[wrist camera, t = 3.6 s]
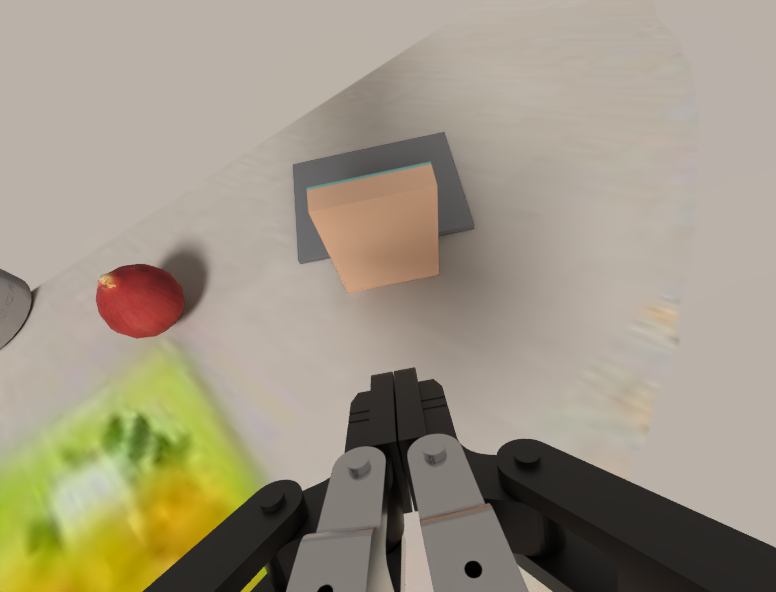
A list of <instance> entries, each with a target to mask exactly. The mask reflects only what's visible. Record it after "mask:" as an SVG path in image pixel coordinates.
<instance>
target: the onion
mask: <svg viewBox="0 0 776 592" xmlns="http://www.w3.org/2000/svg"><path fill="white" fill-rule="evenodd" d="M97 287H98V288H97V295H96V302H97V306H98V311H99V313H100V315H101V317H102V318H103V319H104V320H105V322H106V323H107V324H108V325H109V327H110V328H111V329H113V330H114V331H116V332H117V333H120V334H124V335H127V336H131V337H134V338H144V337H153V336H157V335H159V334H161V333H163V332H165V331H166V330H167V329H169V328H170V327H171V326H172V325H173V324H175V323H176V321H177V320H178V318H179V317H180V316H181V314H182V312H183V308H184V304H185V301H184V295H183V291H182V287H181V286H180V285H179V284H178V283H177V281H176V280H175V279H174V278H173V277H172V276H171V275H170V273H168V272H166V271H164V270H162V269H159V268H156V267H153V266H150V265H146V264H135V265H127V266H122V267H119V268H117V269H115V270H113V271H111V272H109V273H107V274H104V275H101V277H100V278H99V280H98V286H97Z"/></svg>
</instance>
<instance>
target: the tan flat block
mask: <svg viewBox="0 0 776 592" xmlns="http://www.w3.org/2000/svg"><path fill="white" fill-rule="evenodd" d="M307 201H308V213H309V215H310V217H311V219H312V221H313V223H314V225H315V227H316V229H317V231H318V233H319V235H320V237H321V239H322V241H323V243H324V245H325V247H326V249H327V252H328V254H329V256H330V258H331V260H332V262H333V264H334V266H335V268H336V270H337V272H338V274H339V276H340V278H341V280H342V282H343V284H344V286H345V288H346V290H347V292H348V293H350V292H355V291H360V290H365V289H370V288H375V287H380V286H385V285H390V284H395V283H400V282H405V281H410V280H415V279H420V278H425V277H430V276H435V275H439V248H438V192H437V182H436V179H435V175H434V172H433V168H432V165H431V162H426V163H421V164H417V165H412V166H407V167H402V168H398V169H393V170H388V171H384V172H379V173H374V174H370V175H365V176H360V177H355V178H351V179H346V180H341V181H337V182H332V183H327V184H322V185H318V186H313V187H308V188H307Z"/></svg>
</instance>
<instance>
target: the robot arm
mask: <svg viewBox="0 0 776 592" xmlns="http://www.w3.org/2000/svg"><path fill="white" fill-rule="evenodd" d="M30 305H31V291H30V288H29V286H28V285H27V284H26V282H25V281H23V280H22V279H20V278H18V277H16V276H14V275H12V274H10V273H8V272H6V271H4V270H2V269H0V348H2V347H3V346H4V345H5V344H6V343H7V342H8V341H9V340H10V339H11V338H12V337H13V336H14V335H15V334H16V333H17V331H18V330H19V329H20V327H21V326H22V324H23V323H24V321H25V319H26V317H27V315H28V312H29V310H30ZM394 378H395V379H394ZM411 497H412V501H413V505H414V510H415V511H418V512H419V517H420V525H421V530H422V535H423V540H424V545H425V550H426V555H427V560H428V565H429V570H430V575H431V580H432V585H433V590H434V592H529V591H528V589H527V586H526V584H525V582H524V579H523V577H522V575H521V572H520V570H519V568H518V566H517V564H518V565H519V566H520V567H521V568H522V569H524V570H525V571H526V572H528V573H529V574H530V575H532V576H533V577H534V578H536V579H537V580H538V581H540V582H541V583H542V584H544V585H545V586H546V587H548V588H549V589H550V590H551V591H553V592H776V548H775V547H773V546H771V545H769V544H767V543H764V542H762V541H760V540H757V539H755V538H753V537H751V536H749V535H747V534H744V533H742V532H740V531H738V530H736V529H733V528H731V527H729V526H727V525H724V524H722V523H720V522H718V521H716V520H713V519H711V518H709V517H707V516H704V515H702V514H700V513H698V512H695V511H693V510H691V509H689V508H687V507H684V506H682V505H680V504H678V503H676V502H673V501H671V500H669V499H667V498H665V497H662V496H660V495H658V494H656V493H654V492H651V491H649V490H647V489H645V488H642V487H640V486H638V485H636V484H634V483H631V482H629V481H627V480H625V479H623V478H620V477H618V476H616V475H614V474H612V473H609V472H607V471H605V470H603V469H600V468H598V467H596V466H594V465H592V464H589V463H587V462H585V461H583V460H581V459H578V458H576V457H574V456H572V455H569V454H567V453H565V452H563V451H561V450H558V449H556V448H554V447H552V446H550V445H547V444H545V443H543V442H540V441H537V440H533V439H517V440H513V441H510V442H508V443H506V444H504V445H503V446H502V447H501V448H500V449H499V451H498V452H497V455H487V454H479V453H475V452H473V451H470V450H468V449H466V448H465V447H464V446H462V445H461V444H460V442H459V441H458V439H457V437H456V433H455V430H454V426H453V423H452V419H451V416H450V412H449V409H448V406H447V402H446V398H445V395H444V391H443V388H442V386H441V385H440V384H439V383H438V382H436V381H435V380H434V379H431V380H426V381H420V382H418V379H417V374H416V369H415V367H414V368H409V369H403V370H398V371H394V375H393V372H388V373H382V374H377V375H372V376H371V391H366V392H361V393H358V394H357V395H356V397H355V398H354V400H353V401H352V402H351V407H350V416H349V424H348V430H347V438H346V446H345V453H344V454H343V455H342V456H341V457H340V458H339V459H338V460H337V461H336V462H335V464H334V466H333V469H332V473H331V477H330V478H328V479H327V480H325V481H323V482H321V483H319V484H317V485H315V486H313V487H310V488H308V489H306V490H304V491H302V489H301V486H300V485H299V484H298V483H297V482H295V481H292V480H279V481H275V482H273V483H270V484H268V485H266V486H264V487H263V488H261V489H260V490H259V491H257V492H256V493H255V494H254V495H253V496H252V497H251V498H249V499H248V500H247V501H246V502H245V503H244V504H242V505H241V506H240V507H239V508H238V509H237V510H236V511H234V512H233V513H232V514H231V515H230V516H229V517H228V518H226V519H225V520H224V521H223V522H222V523H221V524H220V525H218V526H217V527H216V528H215V529H214V530H213V531H212V532H210V533H209V534H208V535H207V536H206V537H205V538H204V539H202V540H201V541H200V542H199V543H198V544H197V545H195V546H194V547H193V548H192V549H191V550H190V551H189V552H187V553H186V554H185V555H184V556H183V557H182V558H181V559H179V560H178V561H177V562H176V563H175V564H174V565H173V566H171V567H170V568H169V569H168V570H167V571H166V572H165V573H163V574H162V575H161V576H160V577H159V578H158V579H156V580H155V581H154V582H153V583H152V584H151V585H150V586H148V587H147V588H146V589H145V590H144V591H143V592H240V591H241V590H242V589H243V588H244V587H245V586H246V585H247V584H248V583H249V582H250V581H251V580H252V579H253V578H254V577H255V576H256V575H257V573H258V572H259V571H260V570H261V569H262V568H263V567H264V566H265V569H266V571H267V574H266V575H265V576H264V577H263V579H262V580H261V581H260V582H259V583H258V584H257V585H256V586H255V587H254V588H253V589H252V590H251V591H250V592H405V553H406V542H405V536H404V515H403V514H404V513H410V512H412V502H411Z"/></svg>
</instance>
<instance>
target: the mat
mask: <svg viewBox="0 0 776 592" xmlns="http://www.w3.org/2000/svg"><path fill="white" fill-rule="evenodd" d="M426 162H431V165H432V168H433V172H434V175H435V179H436V182H437V192H438V236H441V235H446V234H450V233H455V232H460V231H465V230H470V229H474V223H473V220H472V217H471V214H470V210H469V207H468V204H467V201H466V198H465V195H464V192H463V189H462V186H461V183H460V179H459V176H458V173H457V170H456V167H455V164H454V161H453V158H452V155H451V152H450V149H449V145H448V142H447V139H446V136H445V133H444V132H442V133H437V134H433V135H428V136H423V137H419V138H414V139H409V140H405V141H400V142H395V143H391V144H386V145H382V146H377V147H372V148H368V149H363V150H358V151H354V152H349V153H344V154H340V155H335V156H330V157H326V158H321V159H316V160H312V161H307V162H303V163H298V164H293V177H294V194H295V212H296V229H297V247H298V261H299V263H300V264H303V263H308V262H313V261H318V260H323V259H328V258H330V256H329V254H328V252H327V249H326V247H325V245H324V243H323V241H322V239H321V237H320V235H319V233H318V231H317V229H316V227H315V225H314V223H313V221H312V219H311V217H310V215H309V213H308V201H307V188H308V187H313V186H318V185H322V184H327V183H332V182H337V181H341V180H346V179H351V178H355V177H360V176H365V175H370V174H374V173H379V172H384V171H388V170H393V169H398V168H402V167H407V166H412V165H417V164H421V163H426Z"/></svg>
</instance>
